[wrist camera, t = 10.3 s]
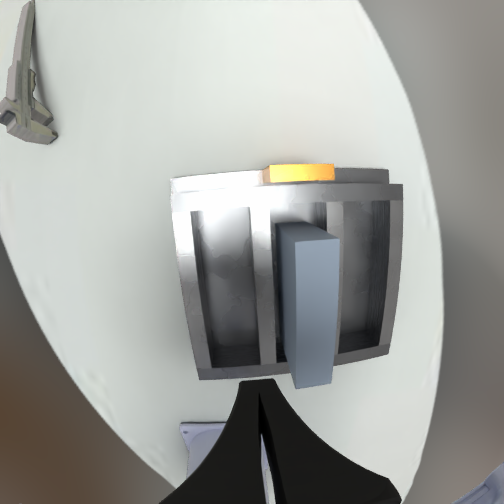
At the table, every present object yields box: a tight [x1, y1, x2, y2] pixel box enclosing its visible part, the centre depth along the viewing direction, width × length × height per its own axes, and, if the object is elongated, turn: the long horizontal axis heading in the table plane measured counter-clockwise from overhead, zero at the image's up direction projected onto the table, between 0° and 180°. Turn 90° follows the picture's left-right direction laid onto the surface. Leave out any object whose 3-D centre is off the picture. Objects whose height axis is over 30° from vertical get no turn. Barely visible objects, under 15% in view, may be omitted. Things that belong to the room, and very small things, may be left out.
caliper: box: [0, 0, 57, 145], centre depth 10 cm, size 21×1×6 cm, turn 25°
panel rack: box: [170, 164, 403, 380], centre depth 17 cm, size 14×15×5 cm
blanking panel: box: [275, 221, 340, 389], centre depth 15 cm, size 8×2×6 cm, turn 4°
